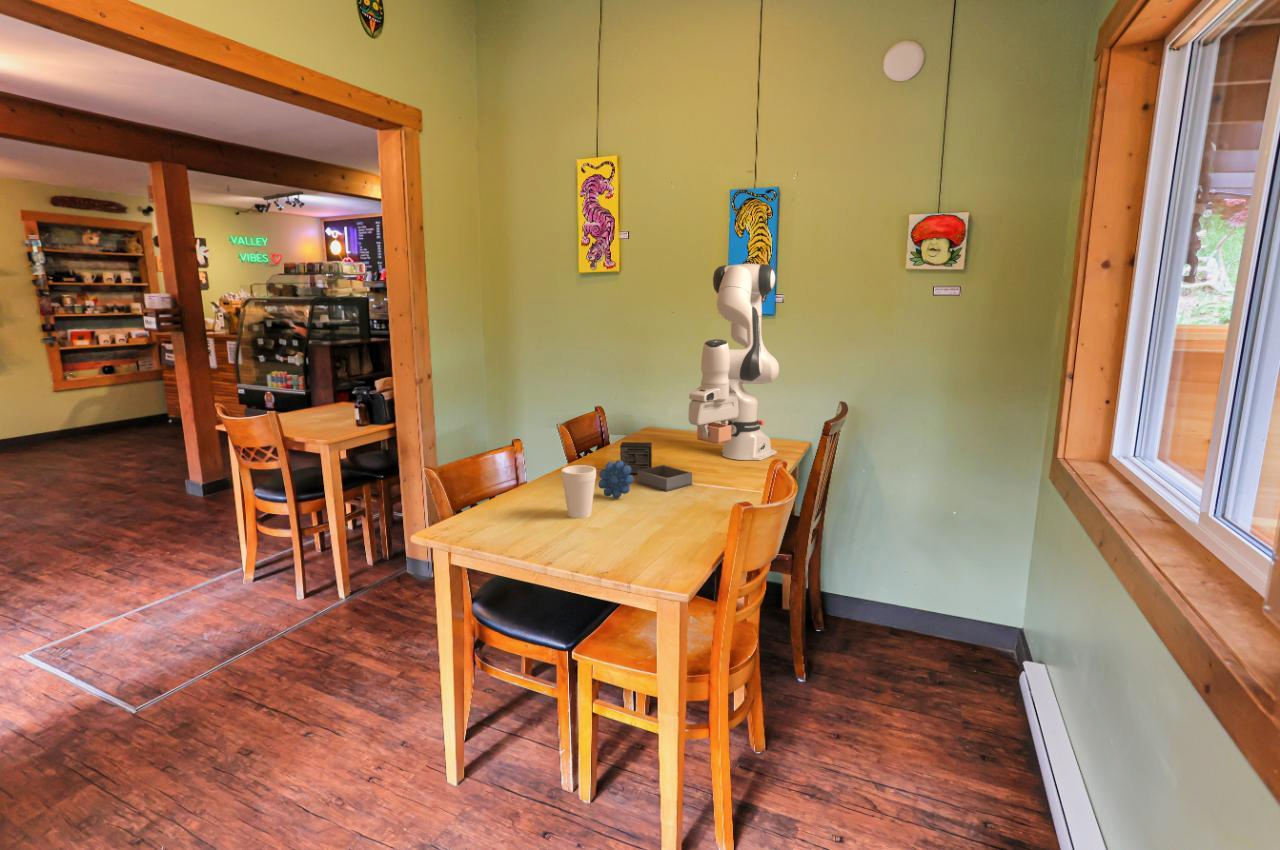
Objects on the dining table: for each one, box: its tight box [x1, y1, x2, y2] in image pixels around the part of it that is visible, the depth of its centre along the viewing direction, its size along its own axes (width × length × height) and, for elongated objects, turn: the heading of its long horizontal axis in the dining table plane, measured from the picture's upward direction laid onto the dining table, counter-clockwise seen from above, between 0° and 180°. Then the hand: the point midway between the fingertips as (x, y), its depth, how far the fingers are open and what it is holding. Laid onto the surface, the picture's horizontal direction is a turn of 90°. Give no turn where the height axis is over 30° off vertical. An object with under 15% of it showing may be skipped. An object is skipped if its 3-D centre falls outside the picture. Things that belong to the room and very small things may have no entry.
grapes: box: [598, 459, 635, 499], centre depth 193 cm, size 12×7×12 cm, turn 66°
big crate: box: [636, 464, 693, 493], centre depth 208 cm, size 12×14×4 cm
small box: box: [619, 441, 653, 476], centre depth 220 cm, size 11×6×10 cm, turn 84°
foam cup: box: [561, 464, 597, 519], centre depth 177 cm, size 10×9×13 cm
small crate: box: [696, 422, 731, 445], centre depth 203 cm, size 6×9×5 cm, turn 42°
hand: (714, 435), depth 203 cm, fingers closed on small crate, 6 cm apart
